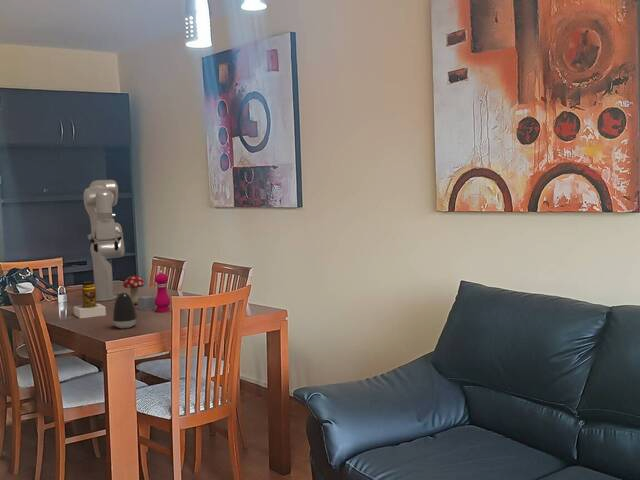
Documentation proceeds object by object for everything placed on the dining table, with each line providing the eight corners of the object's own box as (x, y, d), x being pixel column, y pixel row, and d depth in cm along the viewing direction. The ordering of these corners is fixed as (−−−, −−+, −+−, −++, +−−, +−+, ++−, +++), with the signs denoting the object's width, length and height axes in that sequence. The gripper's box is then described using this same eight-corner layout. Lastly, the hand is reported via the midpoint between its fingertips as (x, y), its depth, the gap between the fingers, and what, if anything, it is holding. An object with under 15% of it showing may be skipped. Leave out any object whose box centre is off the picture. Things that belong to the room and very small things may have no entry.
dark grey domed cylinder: (130, 323, 322) (128, 290, 320) (141, 326, 314) (139, 292, 313) (108, 327, 315) (106, 293, 314) (119, 330, 307) (117, 295, 306)
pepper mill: (173, 310, 351) (171, 269, 350) (165, 313, 345) (163, 271, 343) (160, 309, 354) (158, 269, 352) (152, 312, 347) (150, 271, 345)
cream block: (74, 314, 348) (73, 306, 347) (99, 311, 354) (98, 303, 354) (80, 318, 338) (79, 310, 337) (106, 315, 344) (105, 306, 343)
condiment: (91, 308, 341) (90, 283, 340) (76, 307, 343) (74, 283, 342) (100, 305, 348) (99, 280, 346) (85, 305, 350) (84, 280, 349)
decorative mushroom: (125, 307, 363) (123, 277, 362) (122, 304, 373) (120, 275, 372) (147, 305, 367) (146, 276, 366) (144, 301, 378) (142, 273, 376)
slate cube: (138, 309, 357) (137, 297, 357) (148, 307, 362) (148, 295, 361) (145, 310, 353) (144, 298, 353) (155, 308, 357) (154, 296, 357)
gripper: (120, 215, 364) (121, 248, 366) (84, 217, 355) (86, 251, 357) (124, 216, 357) (125, 250, 359) (88, 218, 348) (90, 253, 351)
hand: (106, 251), depth 358 cm, fingers open, 9 cm apart
